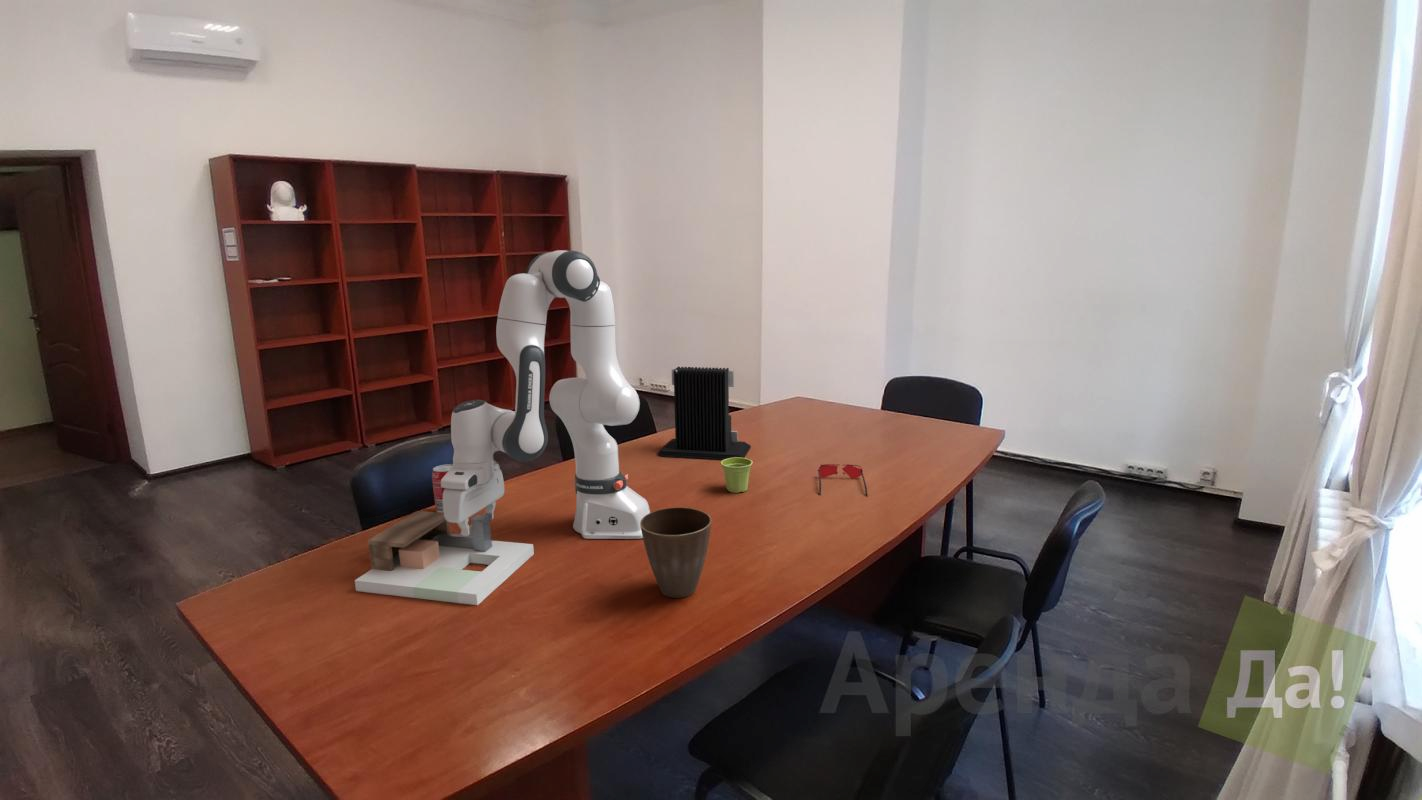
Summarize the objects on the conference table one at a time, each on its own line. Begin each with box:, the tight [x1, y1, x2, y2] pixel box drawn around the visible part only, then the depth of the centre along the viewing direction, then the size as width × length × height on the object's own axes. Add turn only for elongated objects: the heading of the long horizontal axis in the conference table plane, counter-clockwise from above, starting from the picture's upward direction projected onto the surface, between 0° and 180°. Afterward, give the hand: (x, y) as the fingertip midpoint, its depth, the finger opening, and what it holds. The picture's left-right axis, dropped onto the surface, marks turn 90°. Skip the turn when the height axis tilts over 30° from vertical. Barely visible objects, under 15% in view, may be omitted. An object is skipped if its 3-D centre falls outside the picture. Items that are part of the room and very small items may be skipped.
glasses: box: [817, 463, 869, 497], centre depth 215 cm, size 14×16×5 cm
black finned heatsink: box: [657, 366, 752, 461], centre depth 249 cm, size 30×19×30 cm, turn 77°
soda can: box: [431, 463, 453, 513], centre depth 199 cm, size 7×7×13 cm
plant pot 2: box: [720, 457, 753, 494], centre depth 213 cm, size 9×9×9 cm
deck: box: [354, 539, 535, 606], centre depth 164 cm, size 30×25×2 cm
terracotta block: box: [399, 539, 440, 569], centre depth 164 cm, size 6×6×4 cm
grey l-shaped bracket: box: [425, 513, 493, 552], centre depth 169 cm, size 14×7×8 cm, turn 76°
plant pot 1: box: [640, 507, 712, 599], centre depth 153 cm, size 15×15×16 cm
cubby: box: [367, 510, 451, 571], centre depth 167 cm, size 9×18×7 cm, turn 166°
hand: (478, 527), depth 169 cm, fingers open, 8 cm apart
